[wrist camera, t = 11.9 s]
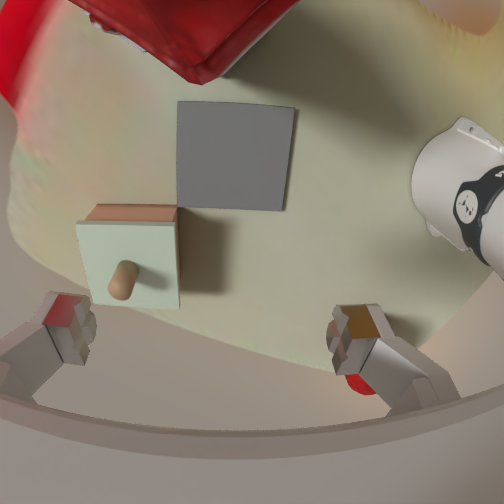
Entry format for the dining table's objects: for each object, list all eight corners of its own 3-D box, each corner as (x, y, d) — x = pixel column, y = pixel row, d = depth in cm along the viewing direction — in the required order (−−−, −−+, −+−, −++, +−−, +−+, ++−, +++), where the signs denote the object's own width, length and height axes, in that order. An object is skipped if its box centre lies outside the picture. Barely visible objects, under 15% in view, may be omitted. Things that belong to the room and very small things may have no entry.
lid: (175, 222, 34) (167, 246, 30) (180, 304, 41) (175, 332, 36) (78, 220, 33) (60, 242, 29) (96, 298, 39) (85, 324, 35)
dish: (177, 205, 39) (170, 225, 34) (180, 275, 45) (175, 301, 40) (97, 203, 38) (81, 223, 33) (109, 272, 44) (97, 295, 39)
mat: (293, 107, 33) (294, 108, 33) (280, 209, 40) (281, 211, 40) (178, 101, 32) (177, 101, 32) (177, 205, 39) (176, 207, 38)
